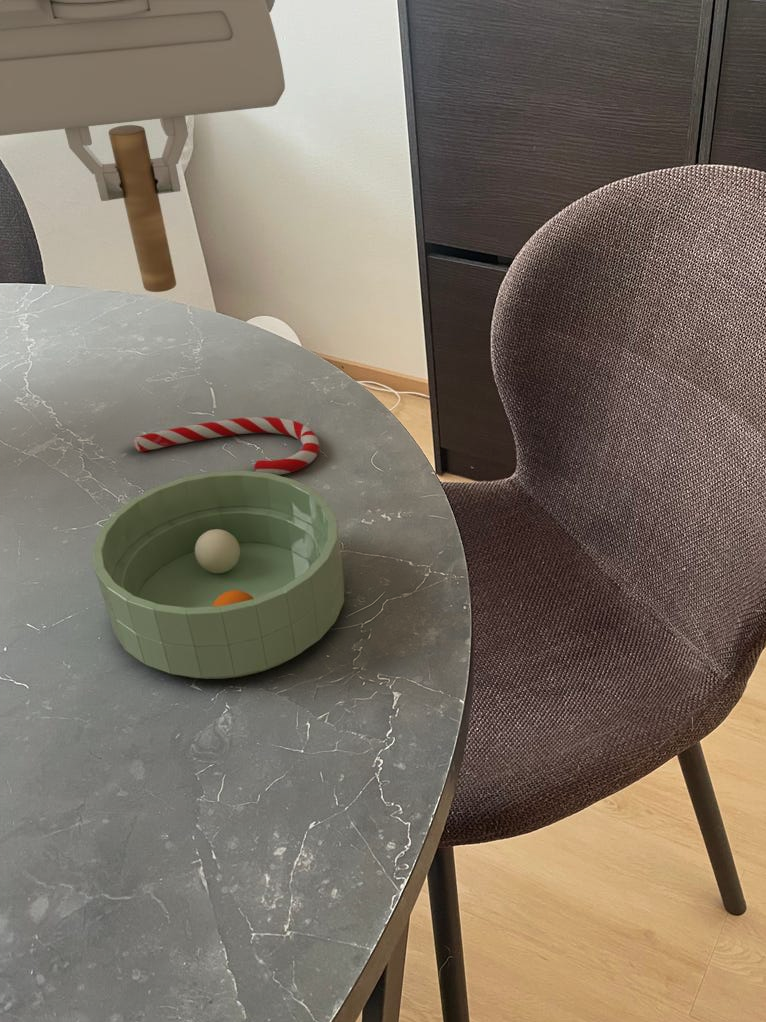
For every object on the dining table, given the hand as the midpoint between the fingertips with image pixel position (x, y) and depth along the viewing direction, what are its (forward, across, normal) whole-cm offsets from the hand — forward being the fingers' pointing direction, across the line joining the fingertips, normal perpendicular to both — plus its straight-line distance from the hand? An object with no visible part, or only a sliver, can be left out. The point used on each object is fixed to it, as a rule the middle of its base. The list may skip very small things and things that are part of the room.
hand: (139, 194), depth 67 cm
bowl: (+22, +1, +17) cm, 27 cm away
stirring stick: (+6, 0, 0) cm, 6 cm away
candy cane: (+22, -3, -3) cm, 22 cm away
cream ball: (+20, +1, +13) cm, 24 cm away
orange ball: (+20, +1, +20) cm, 28 cm away
